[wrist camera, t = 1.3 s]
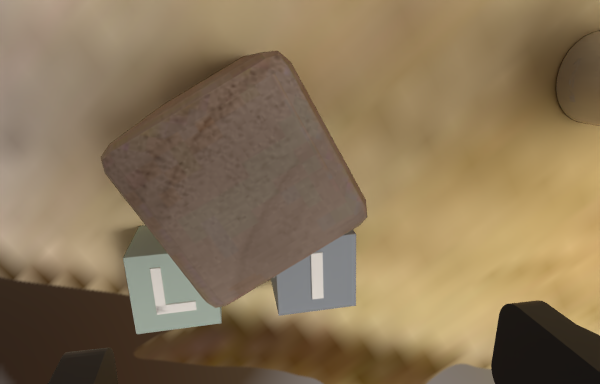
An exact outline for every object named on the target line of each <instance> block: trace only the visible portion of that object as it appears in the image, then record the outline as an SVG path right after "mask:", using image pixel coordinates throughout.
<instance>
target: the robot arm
mask: <svg viewBox="0 0 600 384" xmlns="http://www.w3.org/2000/svg"><path fill="white" fill-rule="evenodd" d="M556 91H557V98H558V101H559V104H560V107H561V108H562V110H563V111H564V113H565V114H566V115H567V116H569V117H570V118H571V119H573V120H575V121H577V122H581V123H587V124H592V125H598V126H600V31H597V32H593V33H591V34H589V35H587V36H585V37H583V38H582V39H581V40H579V41H578V42H577V43H576V44H575V45H574V46H573V47H572V48H571V49H570V50H569V52H568V53H567V55H566V56H565V58H564V60H563V62H562V64H561V67H560V69H559V72H558V77H557V85H556ZM491 367H492V375H493V378H494V382H495V384H600V336H599V335H598V334H596V333H593V332H591V331H589V330H587V329H585V328H583V327H580V326H578V325H576V324H575V323H573V322H572V321H571V320H569V319H568V318H566V317H565V316H564V315H562V314H561V313H559V312H558V311H557V310H555V309H554V308H552V307H551V306H550V305H548V304H547V303H545V302H543V301H530V302H521V303H512V304H506V305H504V306H503V307H502V309H501V311H500V314H499V320H498V326H497V332H496V339H495V345H494V351H493V357H492V365H491ZM48 384H118V380H117V372H116V365H115V358H114V353H113V351H112V349H111V348H102V349H93V350H84V351H75V352H67V353H65V354H64V355H63V356H62V358H61V360H60V362H59V364H58V366H57V368H56V370H55V371H54V374H53V375H52V377H51V379H50V381H49V383H48Z"/></svg>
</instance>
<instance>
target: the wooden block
mask: <svg viewBox="0 0 600 384" xmlns="http://www.w3.org/2000/svg"><path fill="white" fill-rule="evenodd" d="M101 160H102V164H103V167H104V171H105V174H106V175H107V176H108V178H109V179H110V180H111V181H112V183H113V184H114V185H115V187H116V188H117V189H118V190H119V192H120V193H121V194H122V196H123V197H124V198H125V199H126V201H127V202H128V203H129V205H130V206H131V207H132V208H133V210H134V211H135V212H136V213H137V215H138V216H139V217H140V219H141V220H142V221H143V222H144V224H145V225H146V226H147V228H148V229H149V230H150V231H151V233H152V234H153V235H154V237H155V238H156V239H157V240H158V242H159V243H160V244H161V246H162V247H163V248H164V249H165V251H166V252H167V253H168V255H169V256H170V257H171V258H172V260H173V261H174V262H175V263H176V265H177V266H178V267H179V269H180V270H181V271H182V272H183V274H184V275H185V276H186V278H187V279H188V280H189V281H190V283H191V284H192V285H193V287H194V288H195V289H196V290H197V292H198V293H199V294H200V296H201V297H202V298H203V299H204V300H205V301H206V302H207V303H208V304H210V305H211V306H213V307H215V308H218V307H222V306H226V305H228V304H230V303H231V302H233V301H235V300H236V299H238V298H240V297H241V296H243V295H245V294H246V293H248V292H250V291H251V290H253V289H255V288H256V287H258V286H260V285H261V284H263V283H265V282H266V281H268V280H270V279H271V278H273V277H275V276H276V275H278V274H280V273H281V272H283V271H285V270H286V269H288V268H290V267H291V266H293V265H295V264H296V263H298V262H300V261H301V260H303V259H304V258H306V257H308V256H309V255H311V254H313V253H314V252H316V251H318V250H319V249H321V248H323V247H324V246H326V245H328V244H329V243H331V242H333V241H334V240H336V239H338V238H339V237H341V236H343V235H344V234H346V233H348V232H349V231H351V230H353V229H354V228H356V227H358V226H359V225H360V224H361V223H362V222H363V221H364V220H365V219H366V218H367V208H366V199H365V198H364V196H363V194H362V192H361V190H360V188H359V187H358V185H357V183H356V181H355V179H354V177H353V175H352V174H351V172H350V170H349V168H348V166H347V164H346V163H345V161H344V159H343V157H342V155H341V153H340V152H339V150H338V148H337V146H336V144H335V142H334V141H333V139H332V137H331V135H330V133H329V131H328V129H327V128H326V126H325V124H324V122H323V120H322V118H321V117H320V115H319V113H318V111H317V109H316V107H315V106H314V104H313V102H312V100H311V98H310V96H309V95H308V93H307V91H306V89H305V87H304V85H303V83H302V82H301V80H300V78H299V76H298V74H297V72H296V71H295V69H294V67H293V65H292V63H291V61H289V60H288V59H287V58H286V57H284V56H283V55H282V54H281V53H280V52H278V51H271V52H263V53H258V54H253V55H249V56H244V57H242V58H240V59H238V60H237V61H235V62H233V63H232V64H230V65H228V66H227V67H225V68H223V69H222V70H220V71H218V72H217V73H215V74H213V75H212V76H210V77H208V78H207V79H205V80H203V81H202V82H200V83H199V84H197V85H195V86H194V87H192V88H190V89H189V90H187V91H185V92H184V93H182V94H180V95H179V96H177V97H175V98H174V99H172V100H170V101H169V102H167V103H165V104H164V105H162V106H161V107H159V108H158V109H157V110H155V111H154V112H153V113H151V114H150V115H148V116H147V117H146V118H144V119H143V120H142V121H140V122H139V123H138V124H136V125H135V126H134V127H132V128H131V129H129V130H128V131H127V132H125V133H124V134H123V135H121V136H120V137H119V138H117V139H116V140H114V141H113V142H112V143H110V144H109V146H108V147H107V149H106V150H105V152H104V153H103V155H102V156H101Z"/></svg>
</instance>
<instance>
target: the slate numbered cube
mask: <svg viewBox="0 0 600 384" xmlns="http://www.w3.org/2000/svg"><path fill="white" fill-rule="evenodd" d="M271 282H272V287H273V291H274V296H275V300H276V305H277V309H278V314H279V315H287V314H295V313H302V312H310V311H318V310H325V309H333V308H341V307H348V306H356V233H355V232H354V231H353V230H351V231H349V232H348V233H346V234H344V235H343V236H341V237H339V238H338V239H336V240H334V241H333V242H331V243H329V244H328V245H326V246H324V247H323V248H321V249H319V250H318V251H316V252H314V253H313V254H311V255H309V256H308V257H306V258H304V259H303V260H301V261H300V262H298V263H296V264H295V265H293V266H291V267H290V268H288V269H286V270H285V271H283V272H281V273H280V274H278V275H276V276H275V277H273V278H271Z"/></svg>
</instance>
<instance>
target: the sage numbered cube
mask: <svg viewBox="0 0 600 384" xmlns="http://www.w3.org/2000/svg"><path fill="white" fill-rule="evenodd" d="M123 260H124V266H125V272H126V277H127V283H128V289H129V294H130V300H131V306H132V311H133V317H134V323H135V328H136V334H141V333H148V332H157V331H165V330H172V329H180V328H188V327H195V326H203V325H211V324H218V323H221V307H218V308H215V307H213V306H211V305H210V304H208V303H207V302H206V301H205V300H204V299H203V298H202V297H201V296H200V294H199V293H198V292H197V290H196V289H195V288H194V287H193V285H192V284H191V283H190V281H189V280H188V279H187V278H186V276H185V275H184V274H183V272H182V271H181V270H180V269H179V267H178V266H177V265H176V263H175V262H174V261H173V260H172V258H171V257H170V256H169V255H168V253H167V252H166V251H165V249H164V248H163V247H162V246H161V244H160V243H159V242H158V240H157V239H156V238H155V237H154V235H153V234H152V233H151V231H150V230H149V229H148V228H147V226H146V225H145V226H139V228H138V230H137V232H136V234H135V236H134V238H133V240H132V241H131V243H130V245H129V247H128V249H127V251H126V253H125V255H124V257H123Z"/></svg>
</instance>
